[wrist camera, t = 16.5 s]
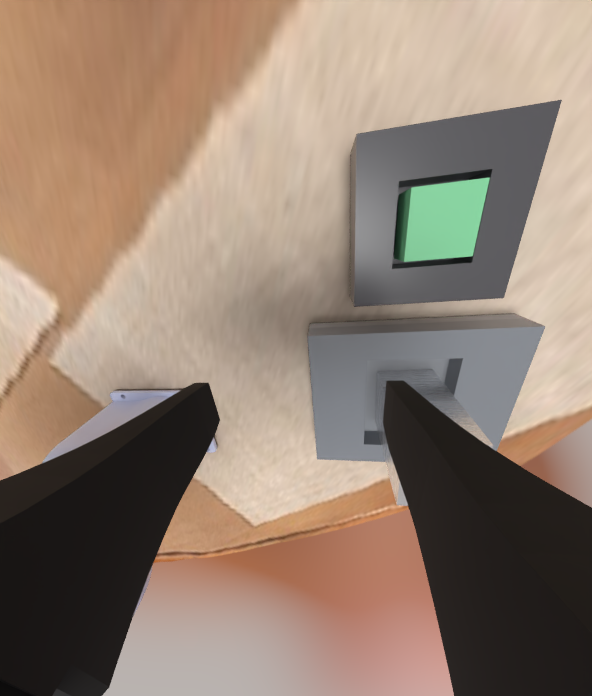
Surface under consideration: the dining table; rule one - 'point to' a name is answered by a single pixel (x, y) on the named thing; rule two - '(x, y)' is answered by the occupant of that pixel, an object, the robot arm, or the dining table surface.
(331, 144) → the dining table surface
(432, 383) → the block
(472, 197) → the button
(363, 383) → the pocket plate
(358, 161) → the button housing
